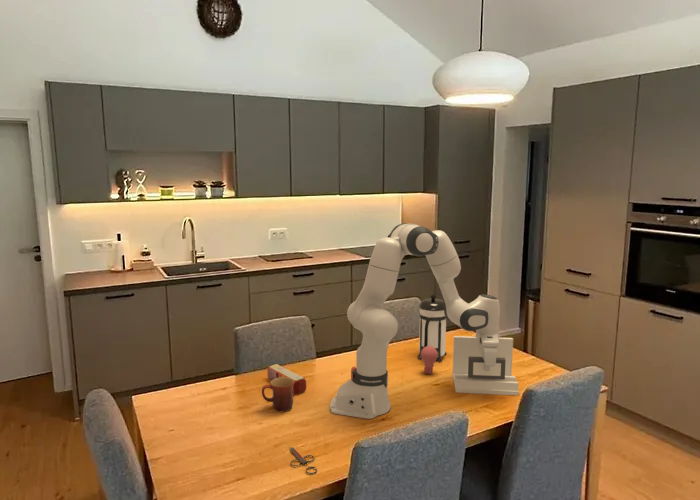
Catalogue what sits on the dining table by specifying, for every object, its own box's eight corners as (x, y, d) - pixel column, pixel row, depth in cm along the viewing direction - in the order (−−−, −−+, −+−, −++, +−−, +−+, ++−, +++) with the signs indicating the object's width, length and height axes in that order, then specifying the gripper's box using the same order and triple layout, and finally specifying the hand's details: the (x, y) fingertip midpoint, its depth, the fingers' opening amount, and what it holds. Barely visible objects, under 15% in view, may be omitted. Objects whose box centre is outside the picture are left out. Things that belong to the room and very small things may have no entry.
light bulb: (436, 370, 224) (437, 343, 222) (437, 376, 217) (438, 349, 215) (420, 369, 224) (420, 343, 222) (420, 376, 217) (421, 349, 215)
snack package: (266, 380, 215) (265, 364, 214) (279, 375, 219) (279, 360, 218) (293, 397, 199) (293, 380, 198) (307, 392, 203) (307, 376, 202)
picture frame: (468, 378, 203) (469, 358, 202) (467, 375, 206) (468, 356, 205) (504, 379, 202) (505, 360, 200) (503, 376, 204) (504, 357, 203)
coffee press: (408, 353, 244) (409, 292, 239) (439, 349, 248) (440, 289, 244) (424, 366, 227) (425, 301, 223) (456, 362, 232) (458, 298, 227)
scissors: (298, 444, 166) (298, 439, 166) (325, 471, 151) (325, 466, 151) (276, 451, 162) (276, 446, 162) (302, 480, 147) (301, 474, 147)
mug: (292, 401, 195) (292, 375, 193) (296, 411, 187) (296, 385, 185) (261, 405, 192) (260, 379, 190) (263, 416, 184) (262, 389, 182)
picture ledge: (455, 392, 202) (456, 350, 199) (452, 375, 218) (453, 335, 215) (518, 395, 199) (520, 352, 196) (510, 377, 215) (512, 337, 213)
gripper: (476, 326, 212) (475, 358, 214) (482, 343, 192) (481, 378, 194) (491, 327, 211) (490, 359, 213) (499, 344, 191) (498, 379, 193)
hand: (486, 368), depth 203 cm, fingers closed on picture frame, 3 cm apart
